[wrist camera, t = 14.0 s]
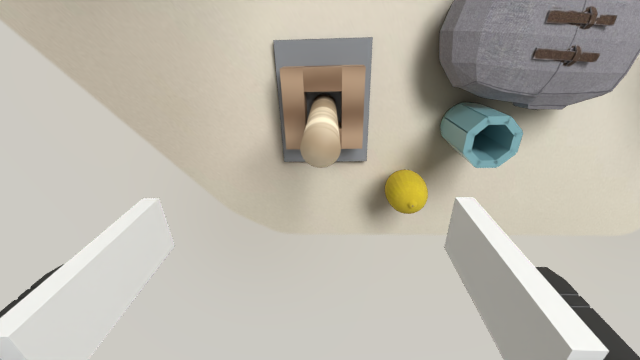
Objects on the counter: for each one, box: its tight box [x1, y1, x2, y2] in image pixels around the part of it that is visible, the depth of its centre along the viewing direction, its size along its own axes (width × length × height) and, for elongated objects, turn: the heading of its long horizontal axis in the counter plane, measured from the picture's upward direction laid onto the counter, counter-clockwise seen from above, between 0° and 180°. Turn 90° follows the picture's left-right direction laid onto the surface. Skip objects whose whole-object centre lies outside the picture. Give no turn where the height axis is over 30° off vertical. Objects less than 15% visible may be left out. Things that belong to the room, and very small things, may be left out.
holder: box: [280, 65, 366, 149], centre depth 36 cm, size 10×10×3 cm
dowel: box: [300, 94, 341, 168], centre depth 30 cm, size 3×3×17 cm
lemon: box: [385, 170, 428, 214], centre depth 39 cm, size 6×6×8 cm
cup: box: [440, 102, 523, 168], centre depth 35 cm, size 6×6×8 cm
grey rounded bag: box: [439, 0, 640, 110], centre depth 30 cm, size 15×8×20 cm
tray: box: [273, 37, 373, 162], centre depth 38 cm, size 16×12×1 cm
